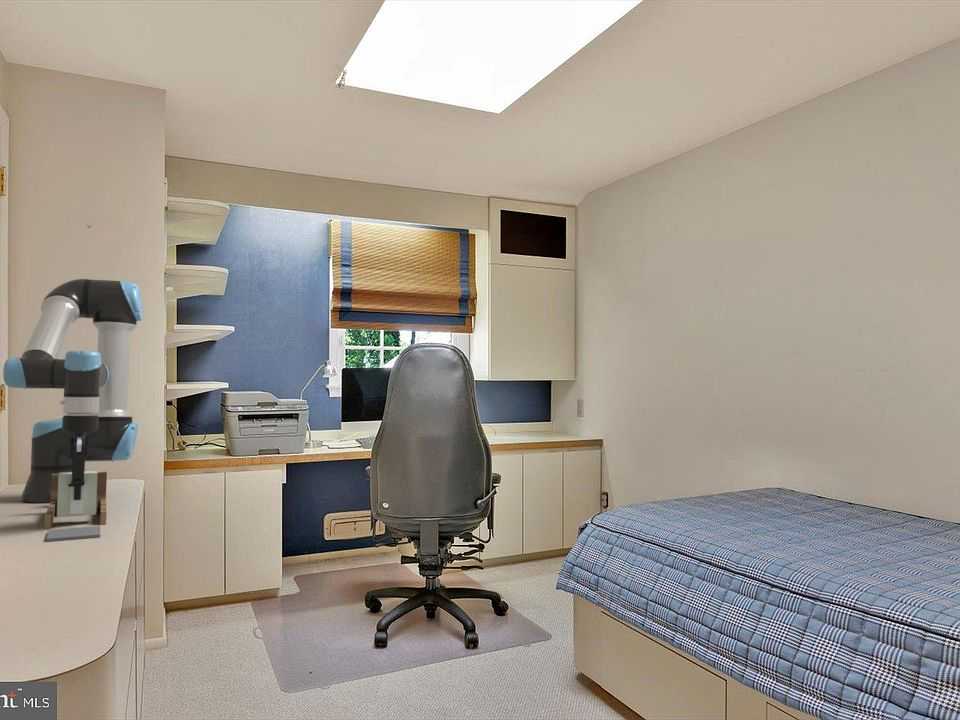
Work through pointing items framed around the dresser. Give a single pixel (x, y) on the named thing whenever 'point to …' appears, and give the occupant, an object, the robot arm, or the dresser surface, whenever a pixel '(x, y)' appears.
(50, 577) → the dresser surface
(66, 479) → the block
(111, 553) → the dresser surface
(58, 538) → the rubber pad
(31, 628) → the dresser surface
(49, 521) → the rack
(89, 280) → the robot arm
